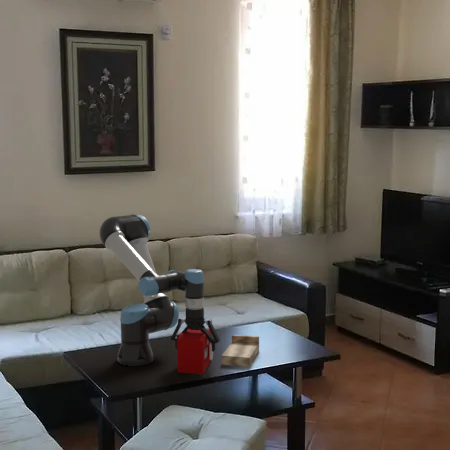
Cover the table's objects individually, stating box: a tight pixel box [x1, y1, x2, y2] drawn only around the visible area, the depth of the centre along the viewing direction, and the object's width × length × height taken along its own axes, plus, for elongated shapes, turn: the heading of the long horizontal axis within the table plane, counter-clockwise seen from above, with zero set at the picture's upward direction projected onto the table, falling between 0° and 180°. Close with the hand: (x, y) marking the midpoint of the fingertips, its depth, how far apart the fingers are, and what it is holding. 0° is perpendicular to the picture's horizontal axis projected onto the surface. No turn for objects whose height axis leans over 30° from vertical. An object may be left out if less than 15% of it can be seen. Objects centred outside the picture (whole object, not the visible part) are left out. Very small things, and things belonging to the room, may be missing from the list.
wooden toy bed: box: [221, 334, 260, 368], centre depth 295 cm, size 12×20×7 cm, turn 166°
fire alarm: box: [176, 328, 213, 376], centre depth 283 cm, size 16×11×15 cm
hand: (195, 357), depth 284 cm, fingers open, 13 cm apart
